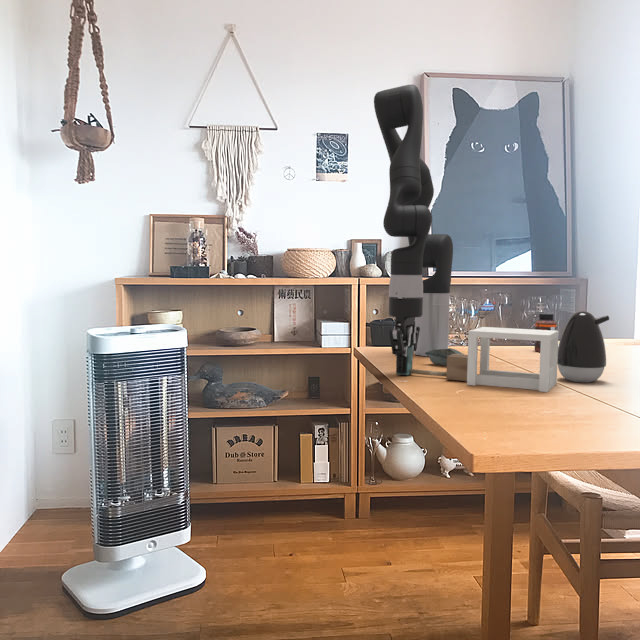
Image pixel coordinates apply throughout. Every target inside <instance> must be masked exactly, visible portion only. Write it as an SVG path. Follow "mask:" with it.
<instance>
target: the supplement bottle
mask: <svg viewBox="0 0 640 640" xmlns="http://www.w3.org/2000/svg"><path fill="white" fill-rule="evenodd" d="M538 318H539V319H538V320H536V321H535V325H534V328H535V329H534V330H553V331H557V328H558V327H557V325H558V324H557V322H556V320H555V319H554V313H552V312H539V315H538ZM540 347H541V341H534V351H535V352H537V351H538V353H540Z"/></svg>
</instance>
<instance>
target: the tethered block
mask: <svg viewBox="0 0 640 640" xmlns="http://www.w3.org/2000/svg"><path fill="white" fill-rule="evenodd" d="M399 349H400V347H399ZM463 354H464V353H463ZM463 354H452V355H449V356H447V365H446V371H438V370H428V369H427V370H424V369H414V368H413V360H414V359H413V358H414V356H413V355H414V354H413V347H408V351H407V372H406V373H405V374H400V373H397V372H396V371H395V375H402V376H409V375H412V374H414V375H421V376H422V375H425V376H434V377H435V376H436V377H444V378H445V377H446V378H445V379H446V380H450V381H451V380H452V381H463V382H467V365H468V354H464V355H463ZM395 357H396V361H395V362H396V363H395V365H396V367H397V356H395Z"/></svg>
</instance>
